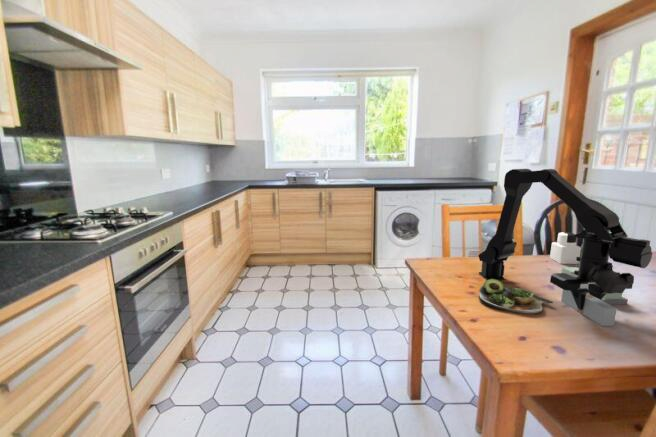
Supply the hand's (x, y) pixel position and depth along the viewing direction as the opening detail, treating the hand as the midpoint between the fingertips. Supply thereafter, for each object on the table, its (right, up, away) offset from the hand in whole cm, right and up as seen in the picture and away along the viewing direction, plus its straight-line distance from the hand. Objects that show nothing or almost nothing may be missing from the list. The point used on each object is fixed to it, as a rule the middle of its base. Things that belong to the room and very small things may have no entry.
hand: (585, 309), depth 87 cm
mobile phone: (+37, +9, +46) cm, 60 cm away
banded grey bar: (0, -1, 0) cm, 1 cm away
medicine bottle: (+25, +8, +41) cm, 49 cm away
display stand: (+12, +2, +13) cm, 18 cm away
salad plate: (-17, 0, +9) cm, 19 cm away
